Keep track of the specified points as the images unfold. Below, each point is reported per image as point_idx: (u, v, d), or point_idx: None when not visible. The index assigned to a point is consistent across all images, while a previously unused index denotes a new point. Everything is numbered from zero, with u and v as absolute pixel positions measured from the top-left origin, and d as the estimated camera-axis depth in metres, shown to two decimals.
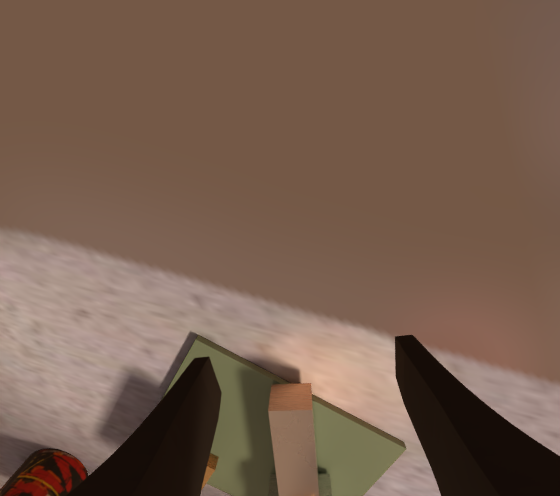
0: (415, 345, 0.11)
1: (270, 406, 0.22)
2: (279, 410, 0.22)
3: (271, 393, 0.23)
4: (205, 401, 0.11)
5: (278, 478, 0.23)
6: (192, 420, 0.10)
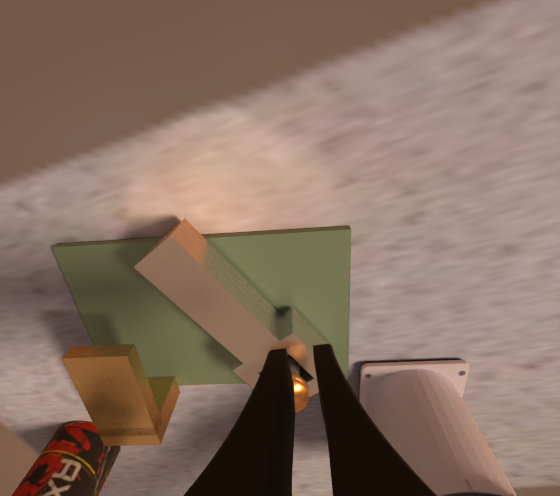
0: (326, 354, 0.11)
1: (138, 262, 0.18)
2: (142, 259, 0.17)
3: None
4: (288, 393, 0.11)
5: (213, 334, 0.19)
6: (283, 412, 0.10)
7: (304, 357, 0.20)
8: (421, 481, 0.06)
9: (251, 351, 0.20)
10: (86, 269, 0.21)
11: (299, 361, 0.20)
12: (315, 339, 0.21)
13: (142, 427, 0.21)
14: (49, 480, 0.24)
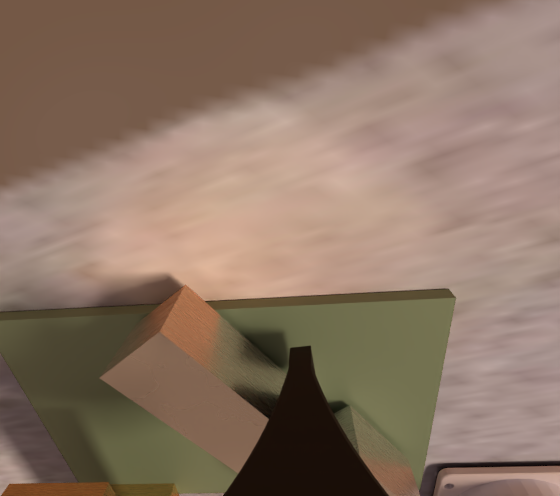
0: (302, 357, 0.11)
1: (108, 366, 0.11)
2: (114, 365, 0.10)
3: (125, 340, 0.12)
4: None
5: (233, 467, 0.12)
6: None
7: None
8: (377, 484, 0.06)
9: None
10: (37, 351, 0.14)
11: None
12: (386, 453, 0.14)
13: None
14: None
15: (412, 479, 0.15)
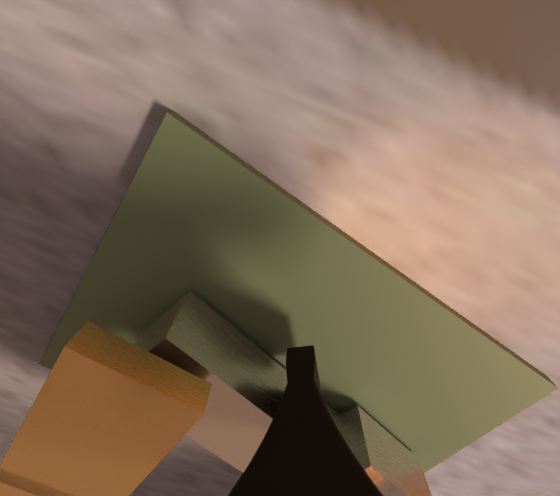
0: (299, 357, 0.11)
1: None
2: None
3: None
4: None
5: (243, 470, 0.12)
6: None
7: (388, 495, 0.13)
8: (372, 484, 0.06)
9: None
10: (190, 190, 0.11)
11: None
12: (396, 453, 0.14)
13: None
14: None
15: (423, 478, 0.15)
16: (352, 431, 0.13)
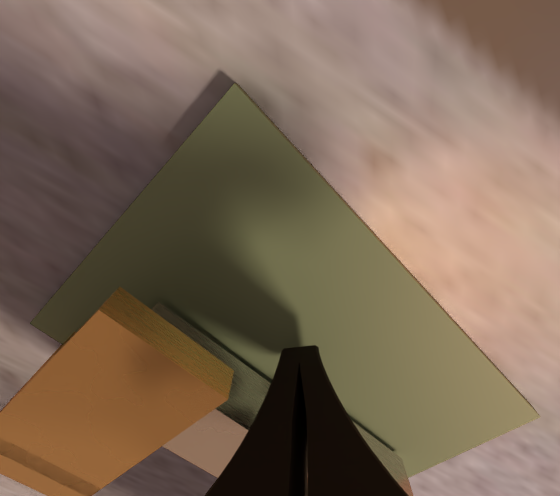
0: (312, 356, 0.11)
1: None
2: None
3: None
4: (302, 392, 0.11)
5: None
6: (299, 411, 0.10)
7: None
8: (395, 483, 0.06)
9: None
10: (239, 168, 0.10)
11: None
12: (375, 454, 0.14)
13: (81, 477, 0.10)
14: None
15: (405, 478, 0.15)
16: None
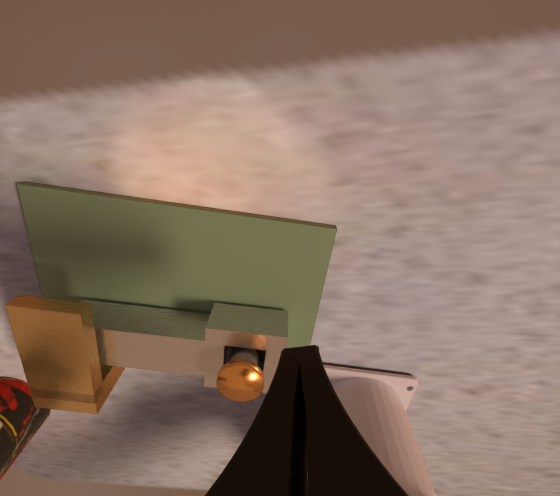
0: (312, 356, 0.11)
1: None
2: None
3: None
4: (302, 392, 0.11)
5: (159, 369, 0.21)
6: (299, 411, 0.10)
7: (237, 339, 0.19)
8: (395, 483, 0.06)
9: (197, 362, 0.20)
10: (51, 215, 0.19)
11: (238, 345, 0.20)
12: (250, 315, 0.21)
13: (81, 393, 0.20)
14: None
15: (283, 320, 0.21)
16: None
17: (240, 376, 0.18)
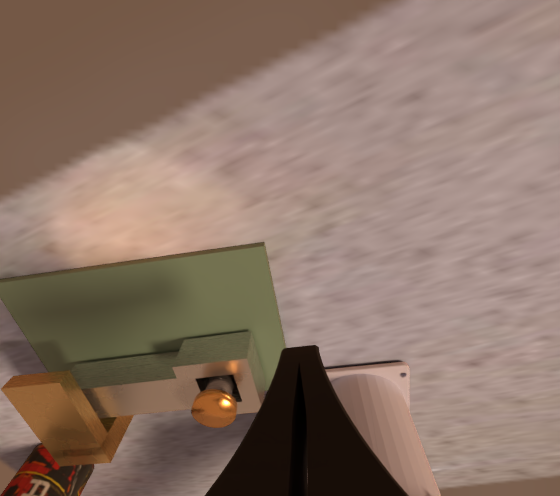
0: (312, 356, 0.11)
1: None
2: None
3: None
4: (302, 392, 0.11)
5: (151, 411, 0.23)
6: (299, 411, 0.10)
7: (204, 370, 0.21)
8: (395, 483, 0.06)
9: (179, 398, 0.22)
10: (26, 301, 0.22)
11: (206, 375, 0.21)
12: (215, 344, 0.22)
13: (89, 447, 0.22)
14: None
15: (245, 341, 0.22)
16: None
17: (210, 405, 0.20)
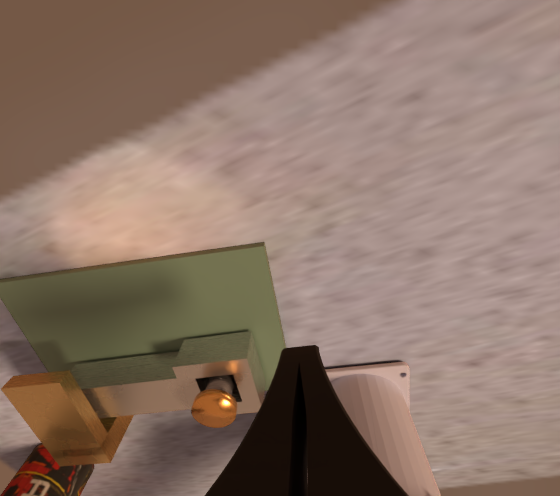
0: (312, 356, 0.11)
1: None
2: None
3: None
4: (302, 392, 0.11)
5: (151, 411, 0.23)
6: (299, 411, 0.10)
7: (204, 370, 0.21)
8: (395, 483, 0.06)
9: (179, 398, 0.22)
10: (26, 301, 0.22)
11: (206, 375, 0.21)
12: (215, 344, 0.22)
13: (89, 447, 0.22)
14: None
15: (245, 341, 0.22)
16: None
17: (210, 405, 0.20)
